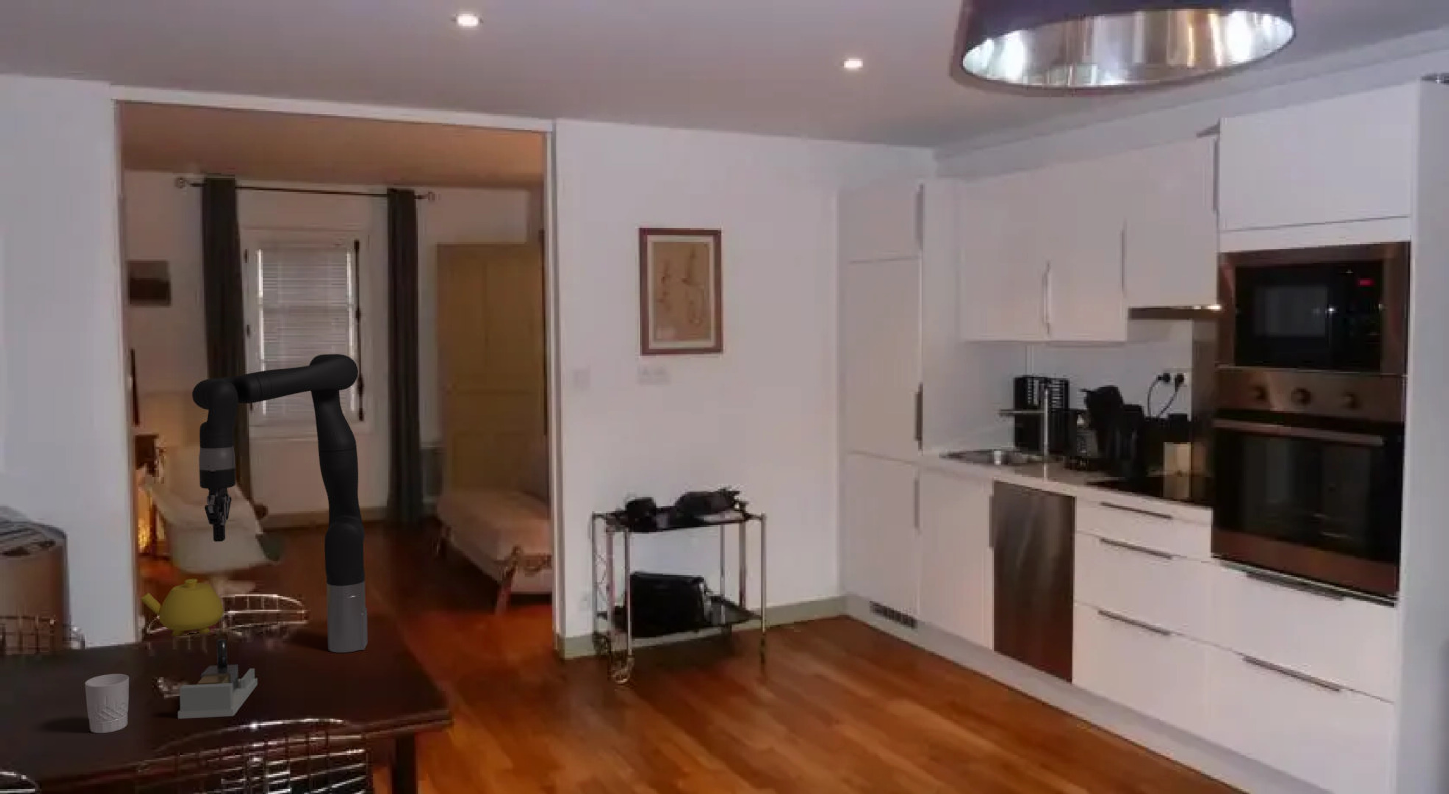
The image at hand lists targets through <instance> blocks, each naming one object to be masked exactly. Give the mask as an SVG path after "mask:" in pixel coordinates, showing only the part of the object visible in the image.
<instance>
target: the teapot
mask: <svg viewBox="0 0 1449 794" xmlns="http://www.w3.org/2000/svg"><path fill="white" fill-rule="evenodd" d="M140 601H141V602H142V603H143V604H145V605H146V606H147V607H148V608H149V610H151V611H152V612H154V613H155V614H156V615H157V616H158V617H159V621H160V623H161V624H162V625H163V627H165V628H166V629H167V630H170V631H171V630H172V633H171V634H170V635H171V636H173V637H178V636H182V635H183V633H184V631H193V630H198V633H199V634H201V635H203V634H209V633H211V630H210V629H209V627H212V626H215V625H216V624H218V623H219V621H220V620H221V619H222V617H223V616H224V613H225V612H224V605H223V602H222V600H221V597H220V596H219V595H218V593H217V592H216V591H215V590H214V588H213V586H211V584H208V583H205V582H204V583H203V582H198V579H196V578H189V579H185V580H184V584H183V583H182V584H179V585H176V586H174V587H172V588H171V590H170V591H169V592H168V594H167V595H166V597H165V598H164V601H163V602H162V604H160V603H159V602H158V600H157V599H155V598H154V597H153V596H152V595H151V593H150V592H147V593H145V594H144V595H143V596H142V597H141V598H140Z"/></svg>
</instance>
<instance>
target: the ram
mask: <svg viewBox="0 0 1449 794" xmlns="http://www.w3.org/2000/svg"><path fill="white" fill-rule="evenodd" d="M227 643H228V640H227V638H221V639H220V638H219V639H217V640H216V658H217V661H216V663H217V665H208V667H207V668H206V669H205V670H204V671H203V672H202V673H201V675H200V677H201V679H202V678H203V677H204V676H210V675H229V683H233V692H234V691H235V690H236V689H237V688H238V679H239V664H228V646H227V645H228V644H227ZM201 679H200V680H201Z"/></svg>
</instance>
